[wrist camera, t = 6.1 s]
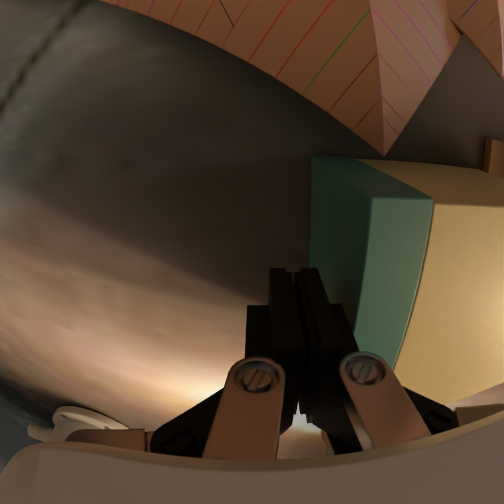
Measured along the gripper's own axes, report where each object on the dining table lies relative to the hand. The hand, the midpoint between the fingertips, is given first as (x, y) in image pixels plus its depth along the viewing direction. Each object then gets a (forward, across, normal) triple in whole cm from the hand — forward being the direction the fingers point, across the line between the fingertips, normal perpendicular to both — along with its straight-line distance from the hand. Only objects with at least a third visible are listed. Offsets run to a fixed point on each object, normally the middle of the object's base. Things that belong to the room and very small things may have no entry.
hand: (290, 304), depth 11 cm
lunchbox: (+6, -7, +1) cm, 9 cm away
